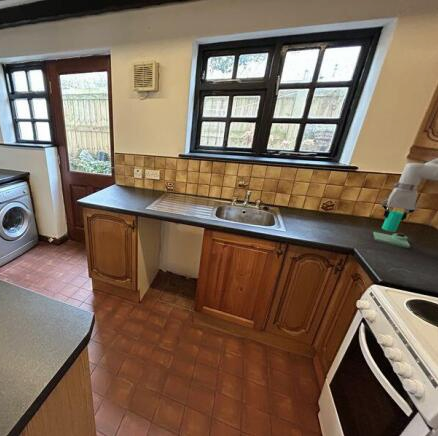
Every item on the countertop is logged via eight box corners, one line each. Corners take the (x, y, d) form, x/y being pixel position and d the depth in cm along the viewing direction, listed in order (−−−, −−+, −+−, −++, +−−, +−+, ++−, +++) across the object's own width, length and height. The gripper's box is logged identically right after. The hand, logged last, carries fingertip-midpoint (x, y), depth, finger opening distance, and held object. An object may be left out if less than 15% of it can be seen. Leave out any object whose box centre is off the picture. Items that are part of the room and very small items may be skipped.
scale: (404, 240, 139) (406, 235, 138) (409, 248, 130) (411, 243, 129) (372, 233, 147) (374, 229, 146) (374, 240, 138) (376, 235, 137)
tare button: (403, 236, 138) (404, 233, 138) (404, 237, 136) (405, 235, 135) (396, 234, 140) (397, 231, 139) (397, 236, 138) (398, 233, 137)
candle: (394, 228, 138) (403, 208, 133) (397, 232, 133) (406, 212, 128) (380, 226, 140) (388, 206, 136) (383, 230, 136) (391, 210, 131)
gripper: (385, 185, 130) (373, 216, 136) (432, 191, 120) (416, 224, 127) (384, 183, 135) (372, 213, 142) (428, 188, 126) (413, 220, 132)
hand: (393, 218), depth 134 cm, fingers closed on candle, 6 cm apart
